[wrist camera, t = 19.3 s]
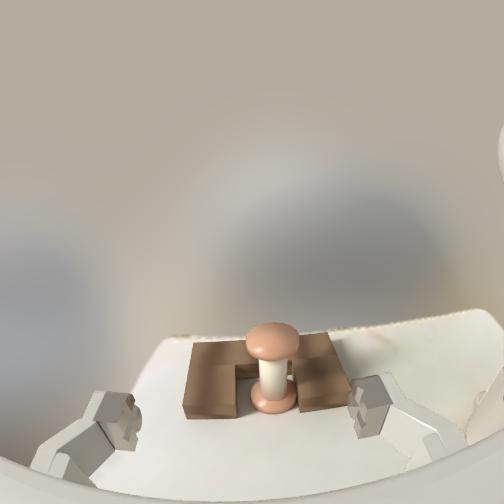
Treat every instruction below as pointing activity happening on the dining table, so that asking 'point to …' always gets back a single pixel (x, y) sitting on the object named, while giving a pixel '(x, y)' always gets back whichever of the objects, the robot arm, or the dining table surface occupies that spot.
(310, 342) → the notched board
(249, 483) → the dining table surface
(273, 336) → the bobbin
